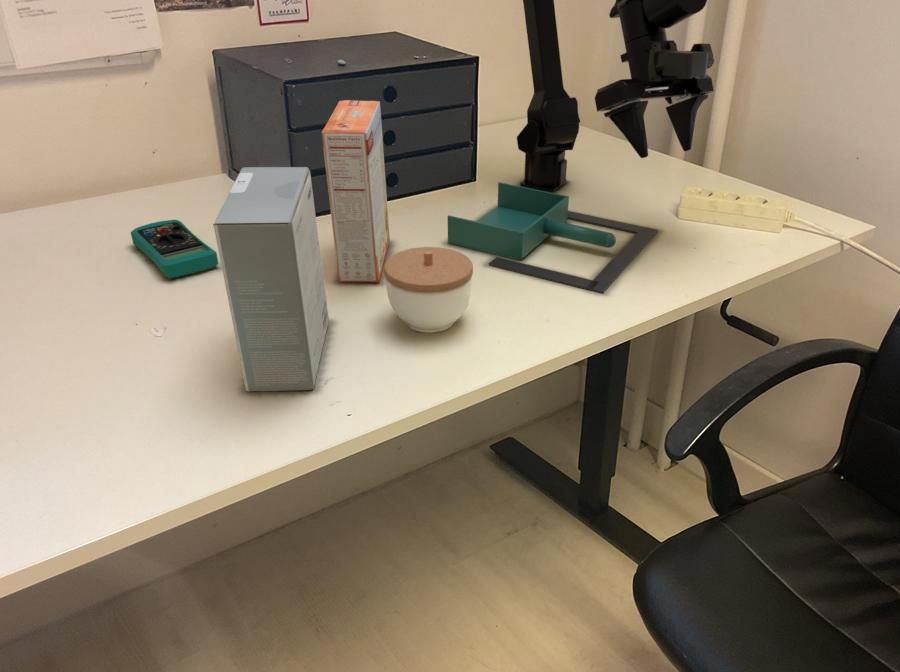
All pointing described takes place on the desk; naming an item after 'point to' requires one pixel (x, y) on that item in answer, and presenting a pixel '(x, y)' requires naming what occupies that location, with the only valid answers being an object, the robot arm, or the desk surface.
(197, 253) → the digital multimeter
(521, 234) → the dustpan
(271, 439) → the desk surface
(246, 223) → the hard drive box
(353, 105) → the cracker box
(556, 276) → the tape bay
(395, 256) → the trinket box
